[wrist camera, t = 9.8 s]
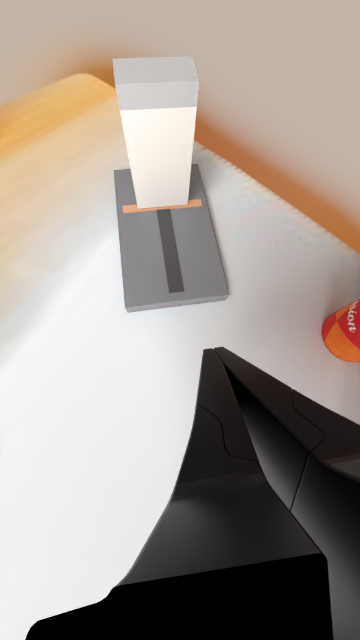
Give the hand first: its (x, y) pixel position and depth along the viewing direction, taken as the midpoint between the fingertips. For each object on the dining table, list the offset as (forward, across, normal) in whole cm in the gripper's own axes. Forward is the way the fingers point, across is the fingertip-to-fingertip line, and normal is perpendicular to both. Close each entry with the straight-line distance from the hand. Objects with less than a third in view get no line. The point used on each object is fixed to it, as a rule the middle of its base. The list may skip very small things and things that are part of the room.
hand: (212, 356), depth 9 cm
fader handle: (+23, 0, -7) cm, 24 cm away
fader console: (+21, 0, -3) cm, 22 cm away
